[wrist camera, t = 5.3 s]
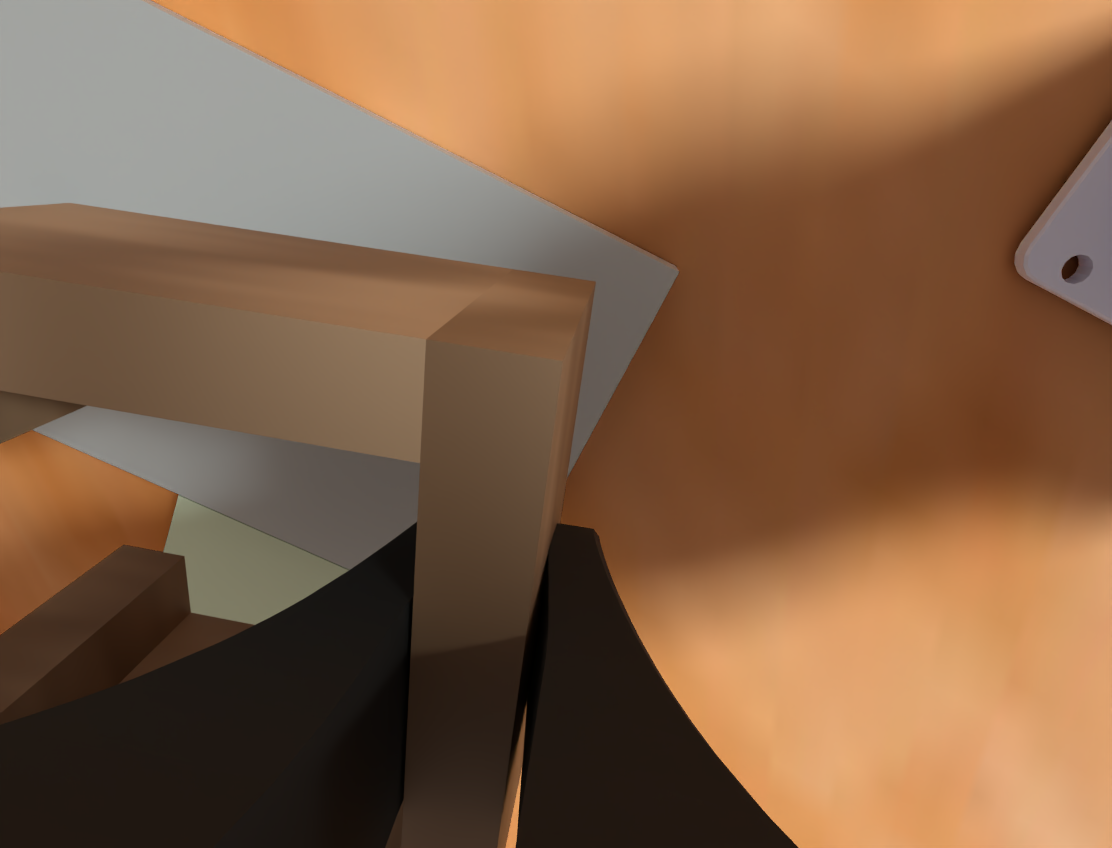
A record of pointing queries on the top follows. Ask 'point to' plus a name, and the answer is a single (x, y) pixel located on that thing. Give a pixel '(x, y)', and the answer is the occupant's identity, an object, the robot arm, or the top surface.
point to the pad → (241, 566)
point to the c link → (319, 419)
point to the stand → (282, 208)
